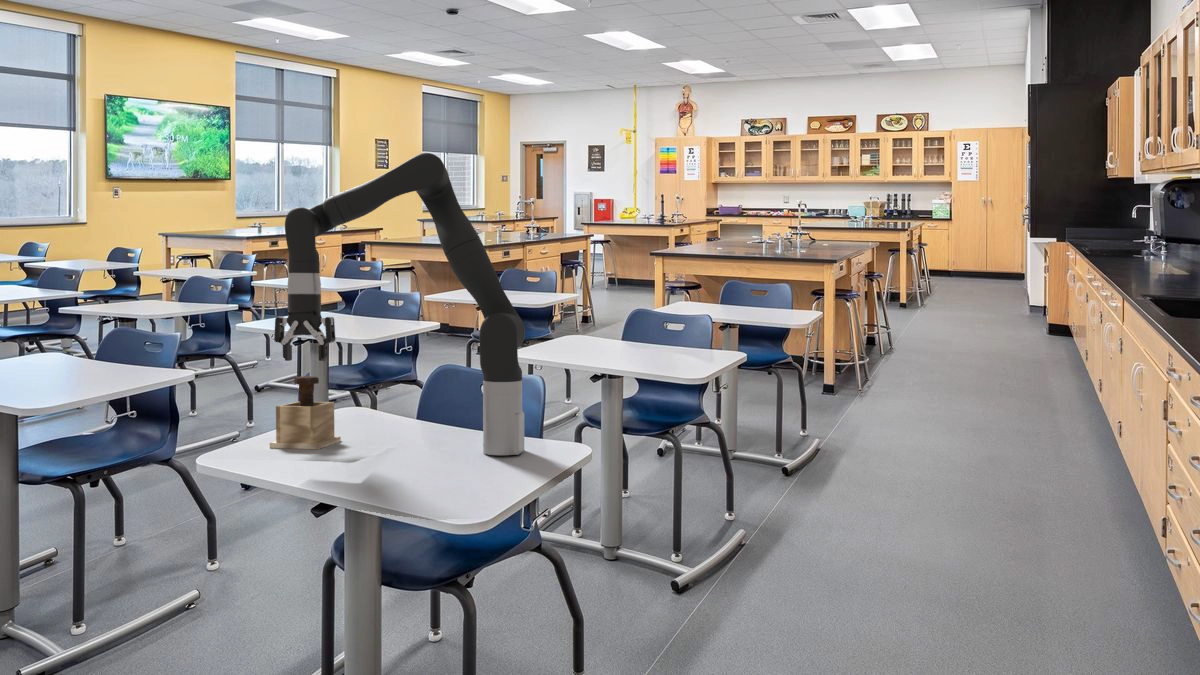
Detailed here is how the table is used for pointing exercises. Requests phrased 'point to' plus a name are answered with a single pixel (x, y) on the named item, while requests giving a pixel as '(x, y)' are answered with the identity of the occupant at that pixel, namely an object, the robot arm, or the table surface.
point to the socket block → (305, 426)
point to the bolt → (306, 389)
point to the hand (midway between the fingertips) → (305, 360)
